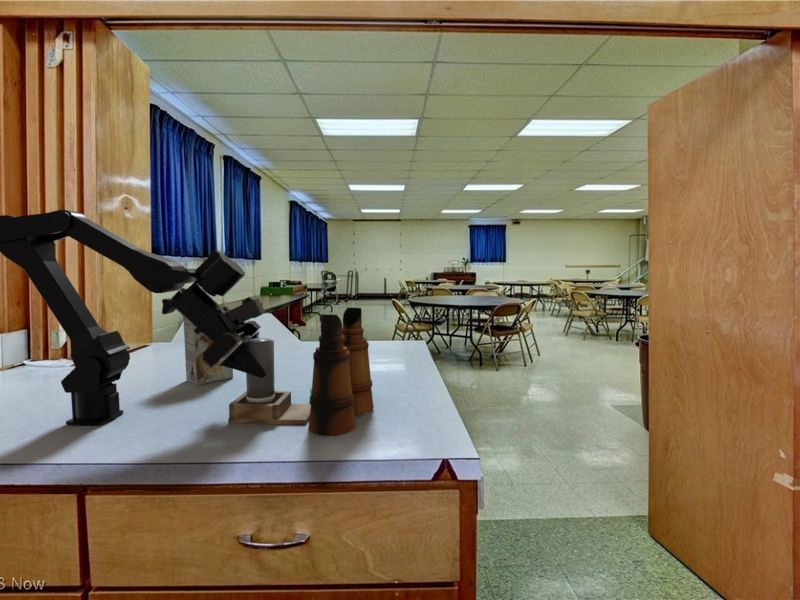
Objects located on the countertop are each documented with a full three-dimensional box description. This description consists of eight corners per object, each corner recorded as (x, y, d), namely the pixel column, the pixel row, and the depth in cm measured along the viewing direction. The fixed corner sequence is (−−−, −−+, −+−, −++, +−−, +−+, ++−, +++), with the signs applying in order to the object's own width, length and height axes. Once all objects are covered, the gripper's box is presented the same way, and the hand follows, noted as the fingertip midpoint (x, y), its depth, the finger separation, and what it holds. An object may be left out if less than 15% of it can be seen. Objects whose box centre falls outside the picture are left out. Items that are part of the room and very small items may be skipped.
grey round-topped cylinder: (240, 409, 81) (239, 341, 80) (258, 401, 86) (257, 336, 85) (264, 412, 79) (263, 343, 78) (280, 404, 84) (279, 338, 83)
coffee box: (221, 373, 113) (220, 312, 112) (233, 378, 109) (231, 314, 108) (185, 380, 106) (182, 315, 105) (196, 385, 102) (193, 317, 101)
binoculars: (341, 400, 92) (341, 305, 90) (379, 404, 89) (379, 306, 88) (299, 433, 74) (297, 315, 72) (344, 438, 72) (343, 317, 70)
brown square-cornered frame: (228, 423, 78) (227, 405, 78) (247, 406, 87) (246, 390, 87) (305, 424, 78) (305, 406, 78) (316, 407, 87) (316, 391, 87)
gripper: (220, 285, 71) (290, 352, 73) (249, 281, 89) (304, 334, 91) (171, 334, 71) (243, 399, 73) (210, 319, 89) (266, 371, 91)
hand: (267, 372), depth 82 cm, fingers closed on grey round-topped cylinder, 5 cm apart
